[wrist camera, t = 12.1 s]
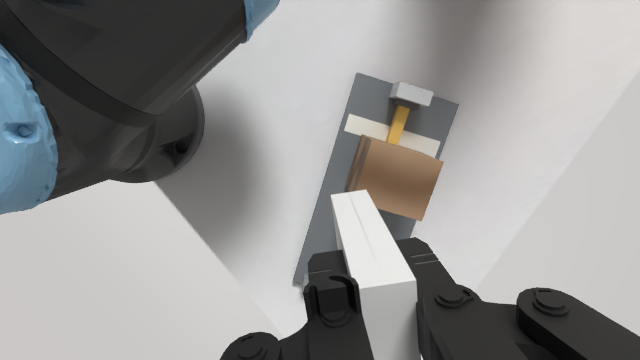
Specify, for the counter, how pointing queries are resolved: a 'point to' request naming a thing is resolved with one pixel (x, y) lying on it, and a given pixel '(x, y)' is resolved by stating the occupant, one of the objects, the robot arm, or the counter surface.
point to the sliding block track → (384, 124)
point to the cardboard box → (394, 176)
